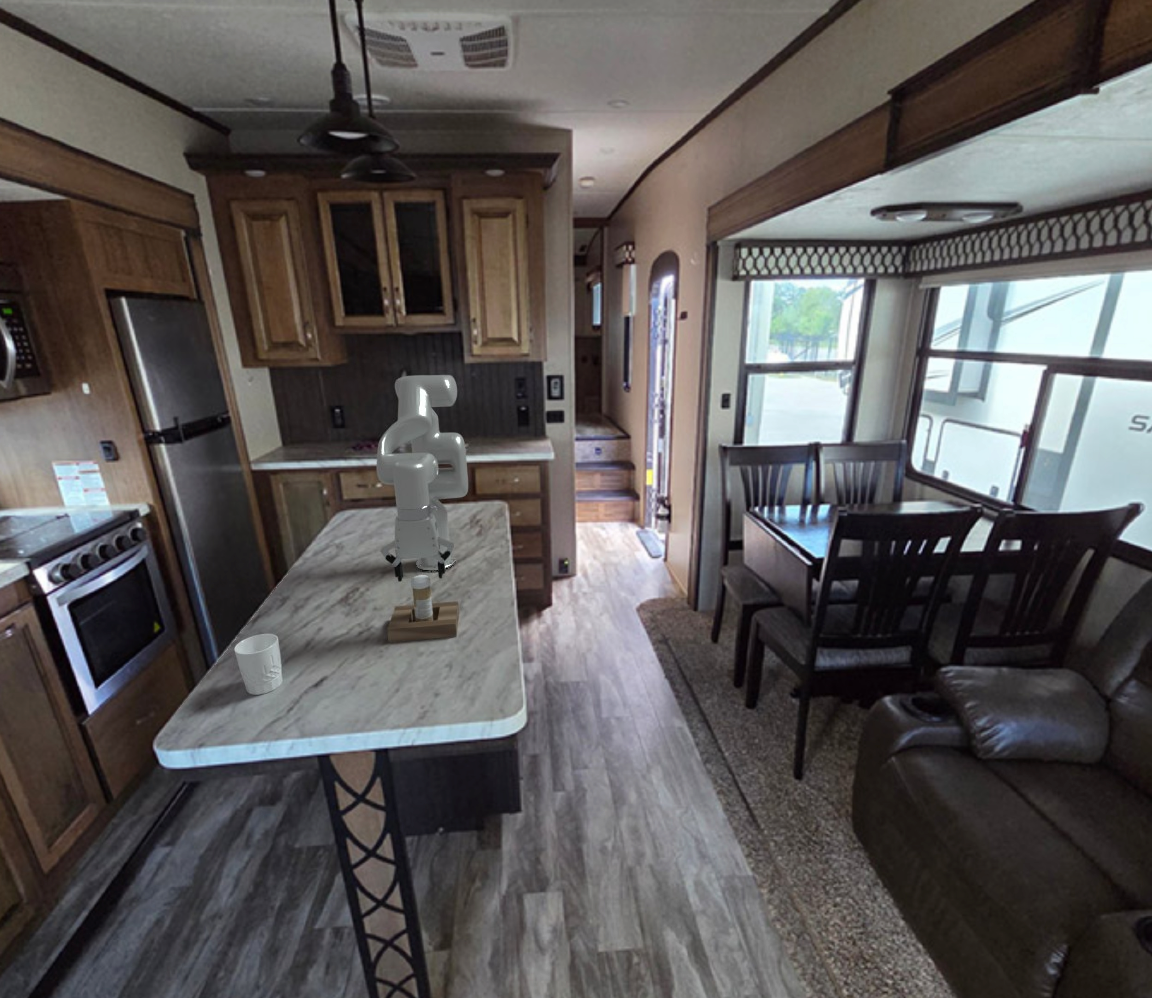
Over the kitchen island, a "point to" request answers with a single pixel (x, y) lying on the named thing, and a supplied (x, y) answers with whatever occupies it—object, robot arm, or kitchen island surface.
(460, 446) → the robot arm
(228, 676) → the kitchen island surface
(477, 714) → the kitchen island surface
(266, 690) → the white cup
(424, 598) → the sprinkles bottle
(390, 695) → the kitchen island surface
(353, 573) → the kitchen island surface
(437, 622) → the walnut holder
